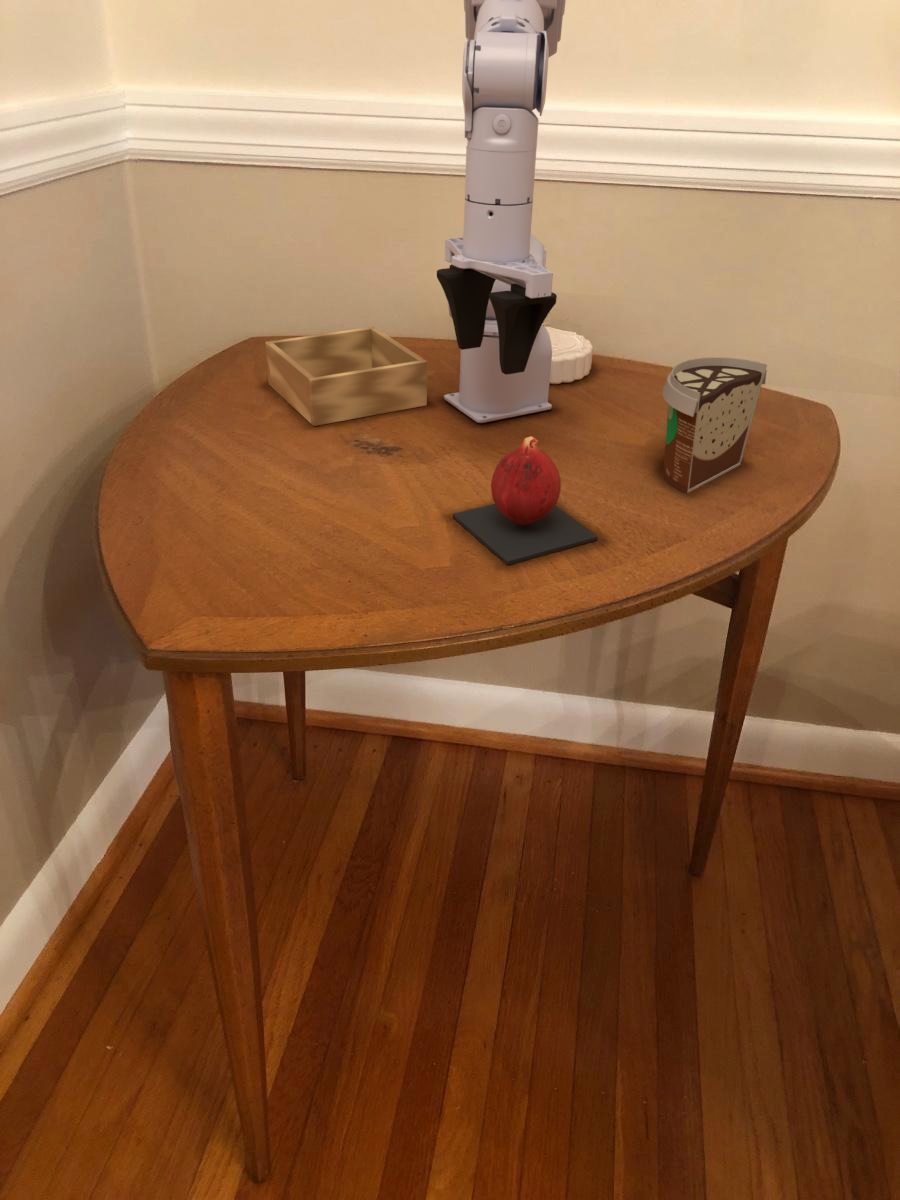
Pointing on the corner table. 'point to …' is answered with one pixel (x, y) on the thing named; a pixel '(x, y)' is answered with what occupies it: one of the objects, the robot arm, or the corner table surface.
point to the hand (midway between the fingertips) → (490, 359)
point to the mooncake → (569, 356)
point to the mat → (523, 533)
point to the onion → (526, 484)
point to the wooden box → (346, 375)
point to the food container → (708, 417)
